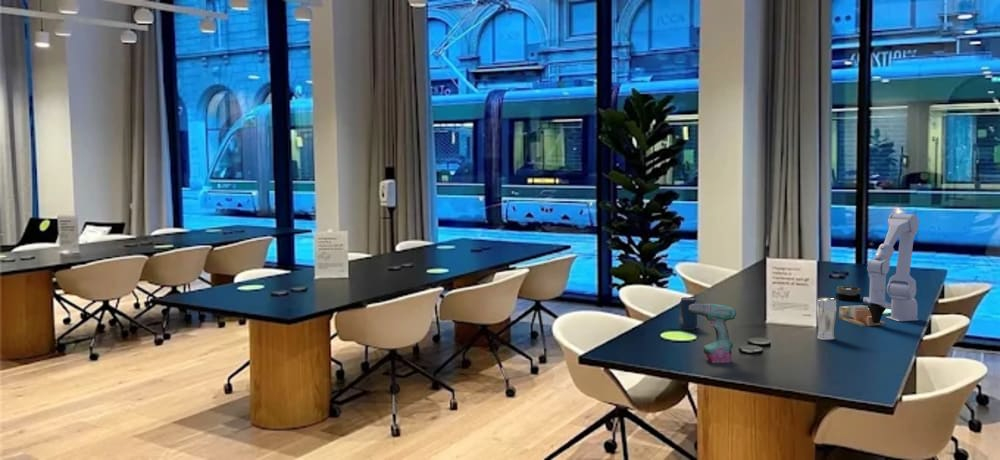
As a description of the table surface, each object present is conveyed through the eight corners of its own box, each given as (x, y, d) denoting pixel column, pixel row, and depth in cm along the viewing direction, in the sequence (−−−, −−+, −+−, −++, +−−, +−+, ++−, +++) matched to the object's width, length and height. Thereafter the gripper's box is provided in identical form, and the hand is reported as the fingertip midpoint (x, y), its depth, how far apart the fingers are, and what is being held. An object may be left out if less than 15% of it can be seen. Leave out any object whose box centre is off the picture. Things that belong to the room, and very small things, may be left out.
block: (861, 319, 333) (861, 305, 332) (867, 321, 329) (868, 306, 328) (848, 320, 332) (849, 305, 331) (854, 322, 328) (855, 307, 327)
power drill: (685, 358, 277) (685, 302, 275) (731, 356, 278) (731, 300, 276) (692, 364, 269) (692, 306, 267) (739, 362, 271) (739, 304, 269)
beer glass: (835, 336, 304) (836, 298, 302) (836, 341, 297) (837, 301, 296) (815, 335, 306) (816, 297, 305) (816, 339, 300) (817, 300, 298)
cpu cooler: (862, 289, 369) (838, 289, 371) (861, 301, 369) (838, 301, 372) (857, 285, 379) (834, 285, 381) (856, 297, 380) (834, 297, 382)
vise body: (861, 316, 337) (861, 305, 337) (885, 324, 322) (885, 312, 322) (838, 318, 335) (839, 306, 335) (862, 326, 320) (862, 314, 320)
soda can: (700, 327, 323) (700, 298, 322) (691, 330, 318) (691, 300, 317) (685, 325, 328) (685, 296, 327) (676, 328, 323) (676, 298, 322)
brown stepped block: (869, 320, 329) (870, 308, 329) (882, 324, 322) (882, 312, 321) (853, 321, 328) (854, 309, 327) (866, 325, 320) (866, 313, 320)
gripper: (856, 286, 324) (856, 319, 326) (880, 293, 310) (879, 327, 312) (872, 285, 326) (871, 318, 327) (896, 292, 312) (895, 326, 313)
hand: (876, 322), depth 320 cm, fingers closed
